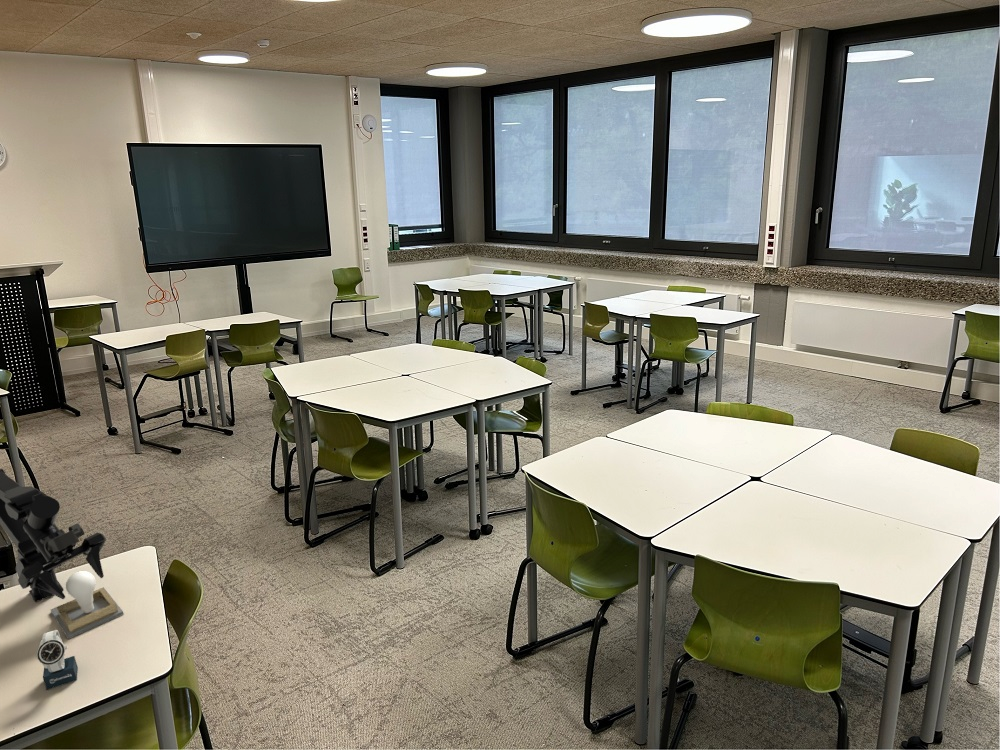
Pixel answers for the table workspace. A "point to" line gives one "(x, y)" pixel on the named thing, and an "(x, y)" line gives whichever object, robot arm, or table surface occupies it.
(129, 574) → the table surface
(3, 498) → the robot arm
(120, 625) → the table surface
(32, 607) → the table surface
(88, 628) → the socket plate
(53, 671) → the watch
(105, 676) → the table surface
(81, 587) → the lightbulb
